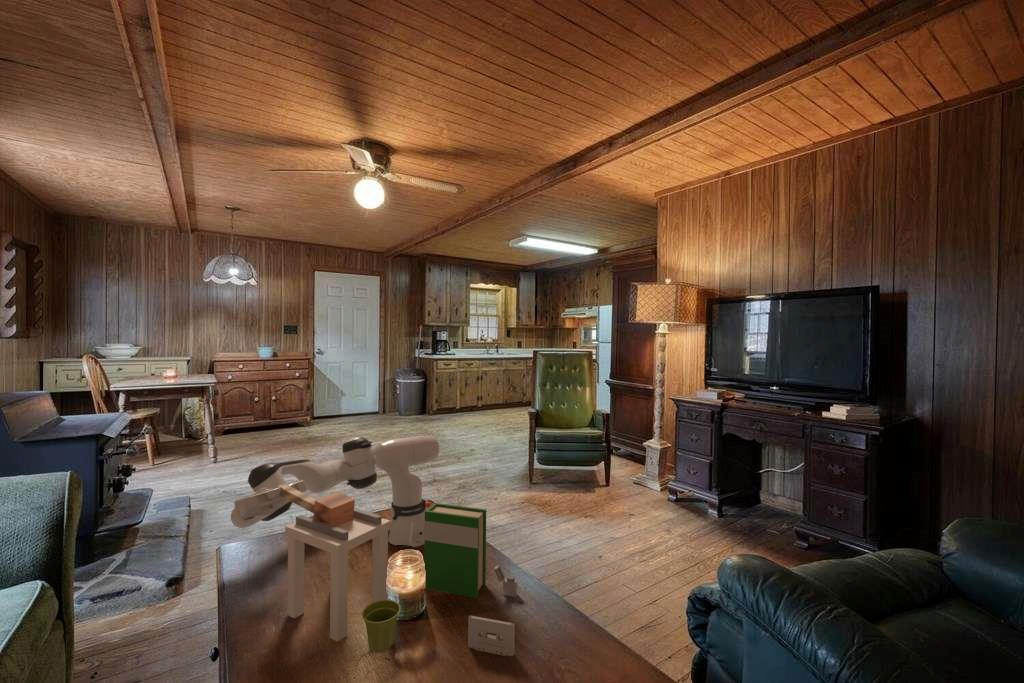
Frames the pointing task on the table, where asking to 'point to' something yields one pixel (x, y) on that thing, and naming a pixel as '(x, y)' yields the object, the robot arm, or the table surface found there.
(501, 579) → the lighter
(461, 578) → the hardback book
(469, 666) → the table surface
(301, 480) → the robot arm
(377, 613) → the plant pot
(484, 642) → the cassette
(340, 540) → the stand
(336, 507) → the mallet
